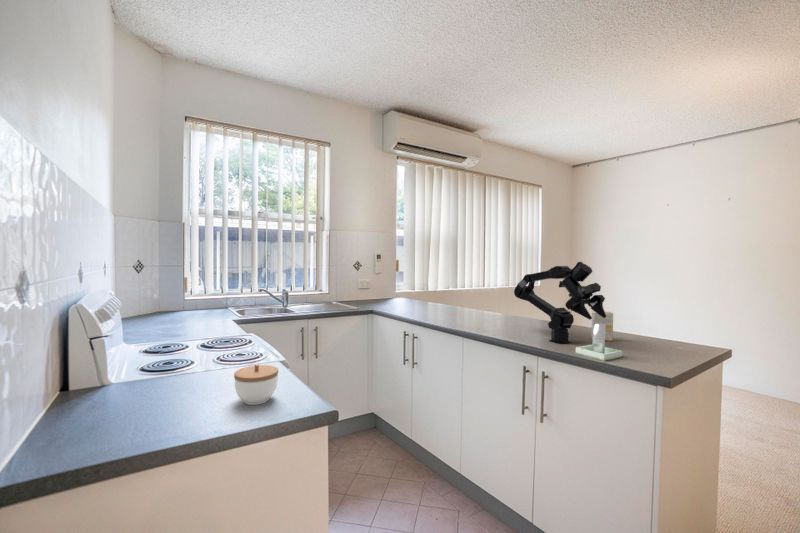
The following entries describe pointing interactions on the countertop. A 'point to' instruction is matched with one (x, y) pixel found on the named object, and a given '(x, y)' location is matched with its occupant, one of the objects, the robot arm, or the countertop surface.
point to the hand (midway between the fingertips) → (598, 318)
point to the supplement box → (607, 320)
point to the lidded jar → (256, 383)
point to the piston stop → (598, 337)
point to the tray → (608, 354)
